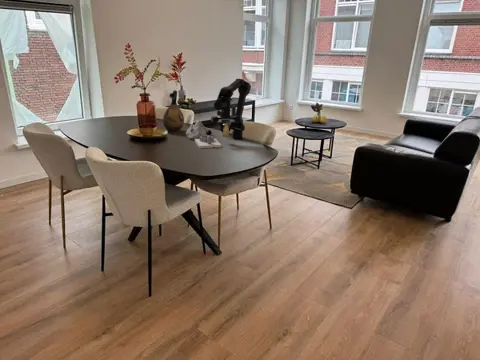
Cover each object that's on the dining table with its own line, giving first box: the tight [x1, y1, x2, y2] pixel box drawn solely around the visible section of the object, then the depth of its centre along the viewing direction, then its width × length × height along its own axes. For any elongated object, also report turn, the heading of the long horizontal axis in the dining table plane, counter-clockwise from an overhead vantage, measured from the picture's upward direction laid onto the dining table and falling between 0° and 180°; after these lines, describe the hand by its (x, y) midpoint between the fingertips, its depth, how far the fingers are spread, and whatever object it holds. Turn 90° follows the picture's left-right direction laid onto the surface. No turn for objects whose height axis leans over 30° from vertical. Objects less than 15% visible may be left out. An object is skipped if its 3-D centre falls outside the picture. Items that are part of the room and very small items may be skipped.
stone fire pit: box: [194, 134, 222, 149], centre depth 224 cm, size 14×18×6 cm
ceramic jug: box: [162, 89, 185, 134], centre depth 252 cm, size 17×15×30 cm
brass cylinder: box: [221, 123, 230, 138], centre depth 226 cm, size 4×4×8 cm
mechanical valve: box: [185, 119, 213, 141], centre depth 242 cm, size 10×18×15 cm
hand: (225, 131), depth 226 cm, fingers closed on brass cylinder, 4 cm apart
